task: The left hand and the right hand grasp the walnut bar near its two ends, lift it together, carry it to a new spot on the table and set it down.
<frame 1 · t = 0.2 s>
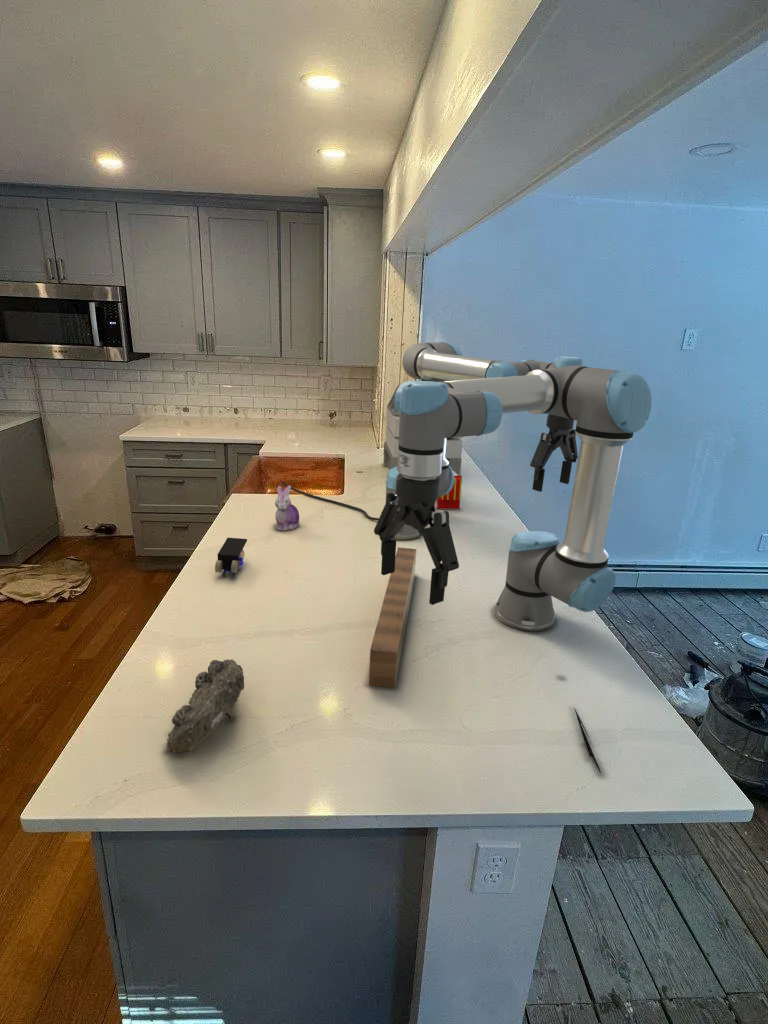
left hand: (550, 486, 166), 28 cm above the counter, tool pointing down, fingers open, 13 cm apart
right hand: (410, 587, 103), 27 cm above the counter, tool pointing down, fingers open, 13 cm apart
figurine: (287, 526, 202), on the counter
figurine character: (232, 569, 168), on the counter
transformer: (419, 473, 275), on the counter
bar: (395, 620, 144), on the counter
fossil: (212, 717, 108), on the counter
toy: (443, 498, 240), on the counter
feather: (578, 721, 111), on the counter
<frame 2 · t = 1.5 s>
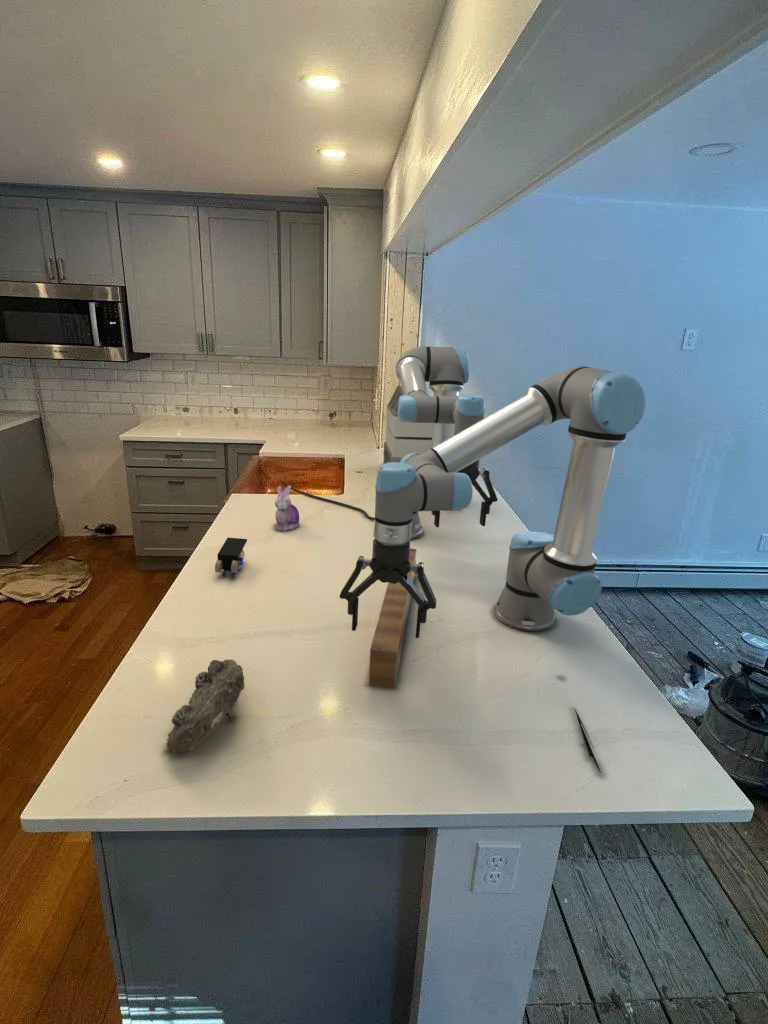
left hand: (459, 525, 162), 17 cm above the counter, tool pointing down, fingers open, 13 cm apart
right hand: (385, 631, 121), 10 cm above the counter, tool pointing down, fingers open, 13 cm apart
nothing on the counter moved.
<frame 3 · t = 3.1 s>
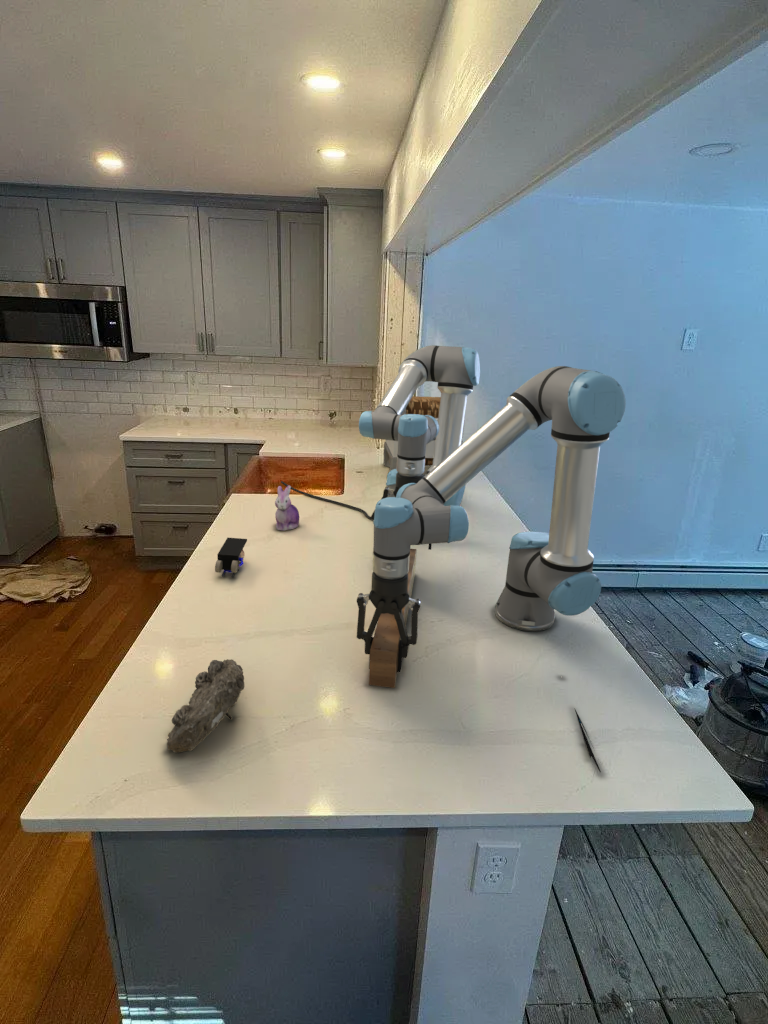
left hand: (405, 545, 160), 12 cm above the counter, tool pointing down, fingers open, 13 cm apart
right hand: (385, 667, 125), 1 cm above the counter, tool pointing down, fingers closed on bar, 5 cm apart
bar: (395, 620, 144), on the counter, touching right hand
everything else where it was.
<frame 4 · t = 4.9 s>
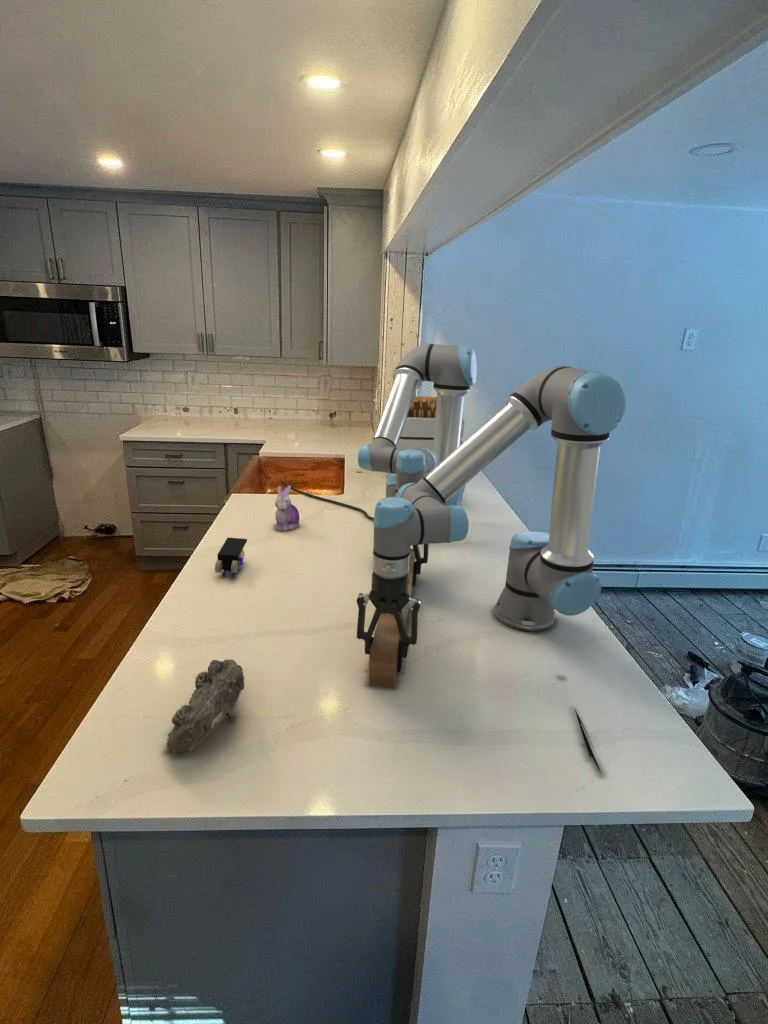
left hand: (403, 582, 163), 1 cm above the counter, tool pointing down, fingers closed on bar, 5 cm apart
right hand: (385, 667, 125), 1 cm above the counter, tool pointing down, fingers closed on bar, 5 cm apart
bar: (395, 620, 144), on the counter, touching left hand, right hand
everything else where it was.
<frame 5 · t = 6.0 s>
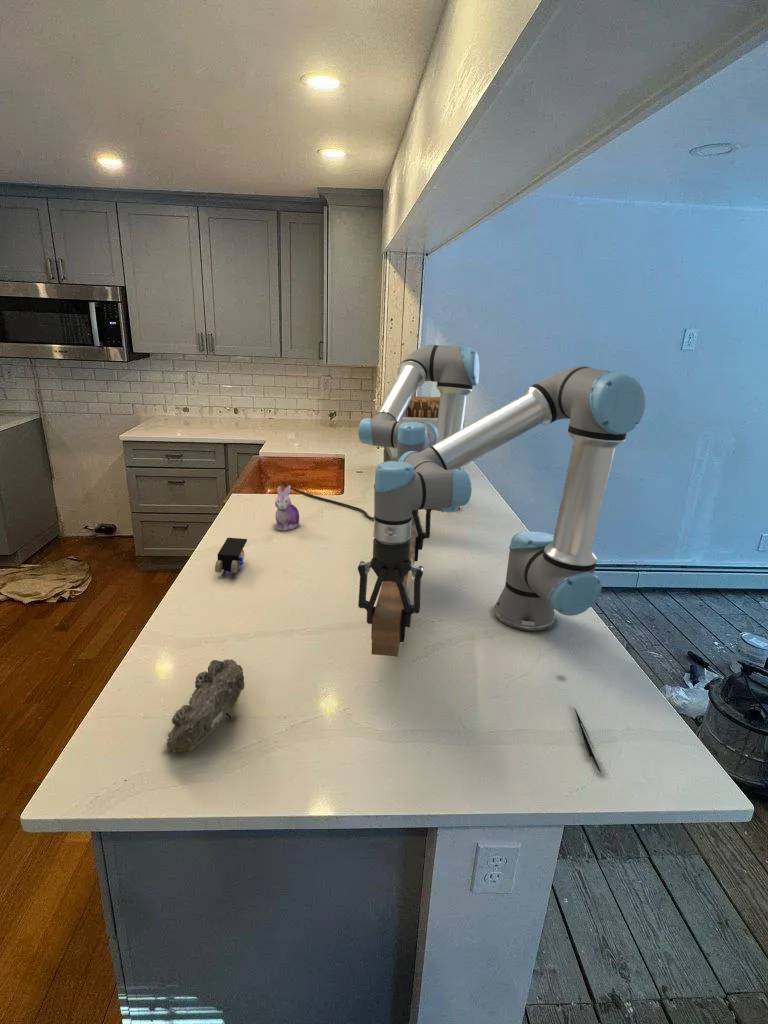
left hand: (405, 558, 161), 8 cm above the counter, tool pointing down, fingers closed on bar, 5 cm apart
right hand: (388, 637, 122), 8 cm above the counter, tool pointing down, fingers closed on bar, 6 cm apart
bar: (398, 594, 142), point 7 cm above the counter, touching left hand, right hand
everything else where it was.
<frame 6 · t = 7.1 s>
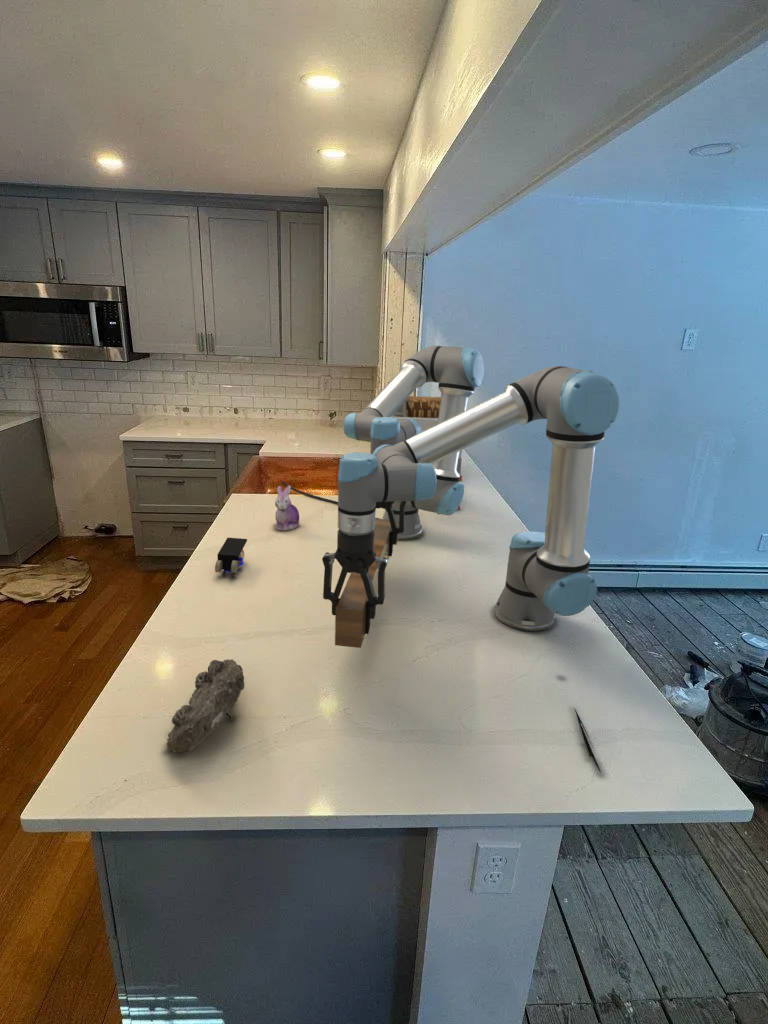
left hand: (379, 553, 162), 9 cm above the counter, tool pointing down, fingers closed on bar, 6 cm apart
right hand: (353, 629, 123), 9 cm above the counter, tool pointing down, fingers closed on bar, 5 cm apart
bar: (368, 588, 142), point 9 cm above the counter, touching left hand, right hand
everything else where it was.
when the left hand's fingers open (2 cm above the counter, at t = 9.2 s): bar drops 2 cm, on the counter.
when the right hand's fingers open (2 cm above the counter, at t = 9.2 s): bar drops 2 cm, on the counter.
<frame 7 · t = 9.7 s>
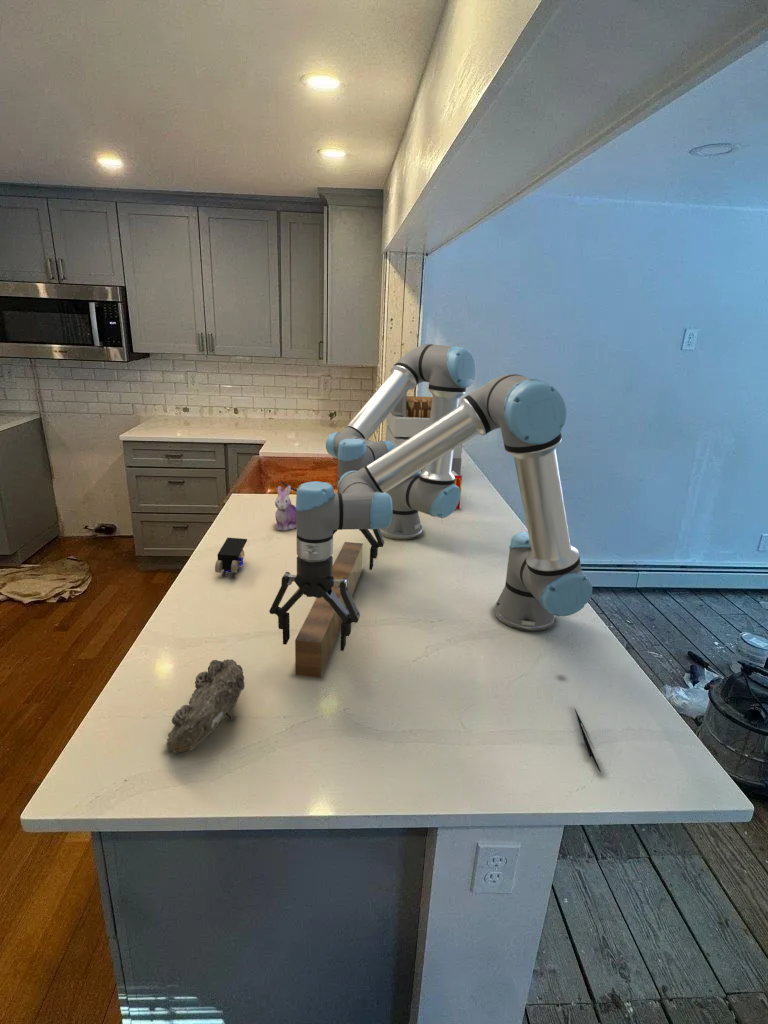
left hand: (349, 565, 164), 4 cm above the counter, tool pointing down, fingers open, 12 cm apart
right hand: (314, 644, 126), 4 cm above the counter, tool pointing down, fingers open, 12 cm apart
bar: (334, 613, 146), on the counter
everything else where it was.
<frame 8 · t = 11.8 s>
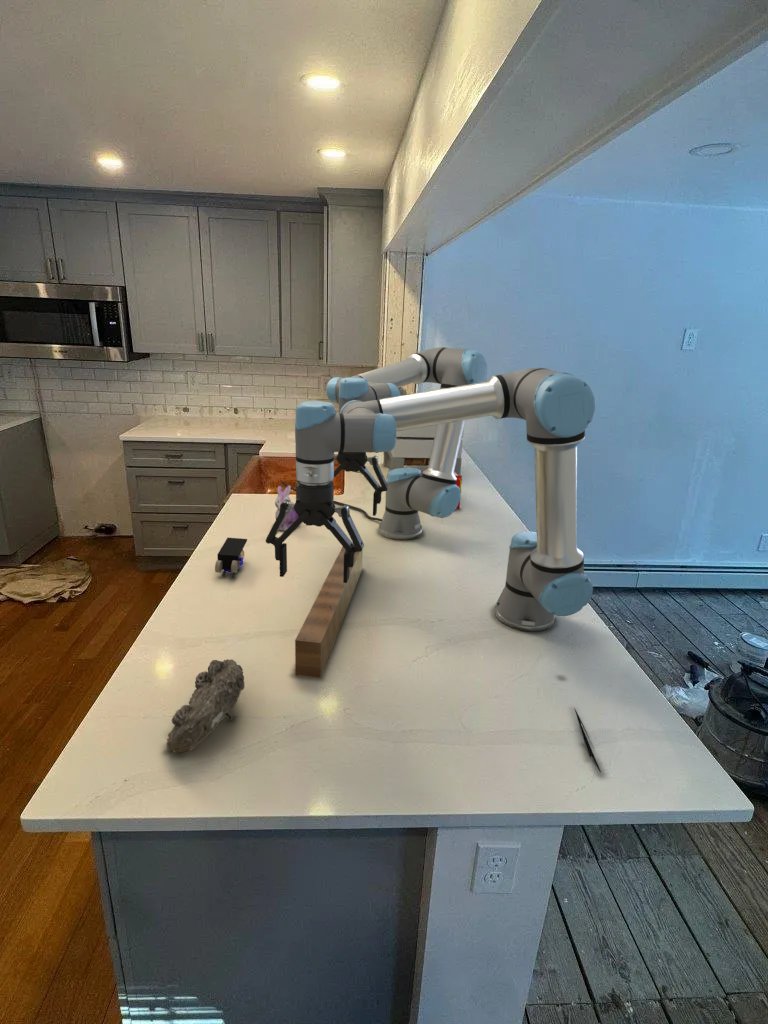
left hand: (350, 512, 159), 21 cm above the counter, tool pointing down, fingers open, 13 cm apart
right hand: (314, 577, 120), 21 cm above the counter, tool pointing down, fingers open, 13 cm apart
nothing on the counter moved.
at the end: bar inside the target area (0.1 cm from its centre), on the counter; bar tilted 0°; bar never tilted more than 1° during the clip; both hands held the bar at the same time; the left hand is holding nothing; the right hand is holding nothing; bar at rest at the end (0.0 cm/s) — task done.
